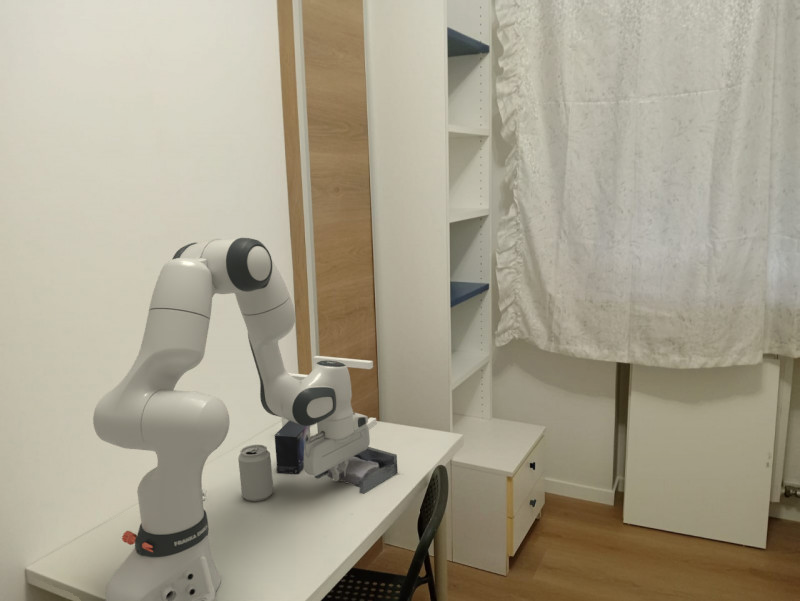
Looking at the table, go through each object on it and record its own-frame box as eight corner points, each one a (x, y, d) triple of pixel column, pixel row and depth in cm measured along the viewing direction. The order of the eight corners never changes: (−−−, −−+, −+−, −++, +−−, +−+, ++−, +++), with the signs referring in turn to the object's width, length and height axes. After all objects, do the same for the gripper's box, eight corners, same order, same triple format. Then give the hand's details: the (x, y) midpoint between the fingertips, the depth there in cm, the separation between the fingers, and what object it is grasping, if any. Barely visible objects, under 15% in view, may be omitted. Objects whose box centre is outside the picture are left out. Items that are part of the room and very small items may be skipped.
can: (235, 499, 163) (230, 452, 160) (255, 486, 169) (250, 441, 167) (261, 505, 160) (256, 457, 157) (279, 491, 166) (275, 444, 164)
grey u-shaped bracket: (363, 493, 163) (362, 474, 162) (314, 477, 173) (313, 458, 172) (397, 473, 173) (396, 454, 172) (349, 458, 183) (348, 441, 182)
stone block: (349, 470, 180) (323, 477, 172) (351, 452, 180) (325, 458, 172) (384, 482, 173) (359, 490, 165) (386, 463, 173) (361, 471, 165)
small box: (300, 474, 175) (296, 436, 173) (276, 473, 176) (272, 435, 174) (313, 457, 185) (310, 420, 183) (290, 456, 186) (287, 420, 184)
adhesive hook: (194, 501, 164) (193, 489, 163) (201, 496, 166) (200, 484, 166) (204, 503, 163) (203, 491, 162) (211, 498, 165) (210, 486, 164)
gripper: (314, 442, 155) (318, 498, 158) (372, 414, 171) (375, 466, 173) (295, 437, 159) (299, 491, 162) (353, 410, 175) (356, 460, 177)
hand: (339, 478), depth 168 cm, fingers closed
